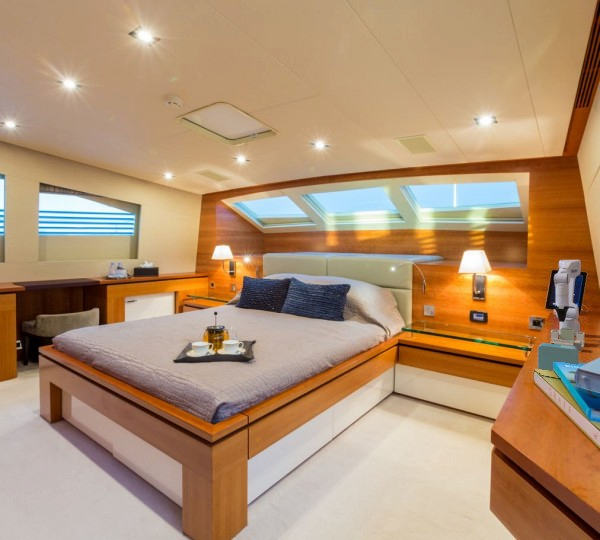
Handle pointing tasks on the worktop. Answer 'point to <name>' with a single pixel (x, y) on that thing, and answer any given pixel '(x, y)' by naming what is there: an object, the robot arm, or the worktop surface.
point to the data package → (556, 355)
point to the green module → (567, 334)
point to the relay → (578, 345)
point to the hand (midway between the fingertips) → (562, 320)
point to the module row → (556, 340)
